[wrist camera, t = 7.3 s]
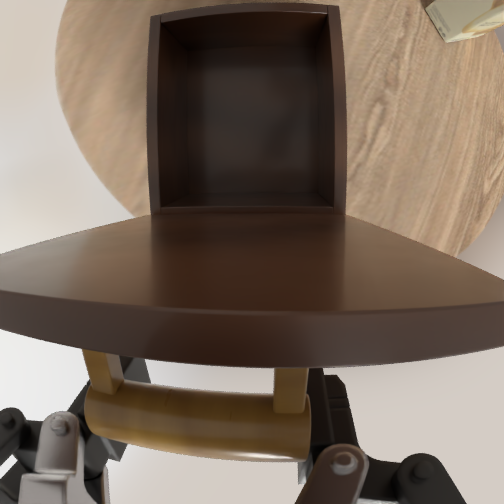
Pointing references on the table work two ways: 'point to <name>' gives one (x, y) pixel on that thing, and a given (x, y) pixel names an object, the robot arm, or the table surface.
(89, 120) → the table surface
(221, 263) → the lid
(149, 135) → the chest
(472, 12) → the cosmetic box
